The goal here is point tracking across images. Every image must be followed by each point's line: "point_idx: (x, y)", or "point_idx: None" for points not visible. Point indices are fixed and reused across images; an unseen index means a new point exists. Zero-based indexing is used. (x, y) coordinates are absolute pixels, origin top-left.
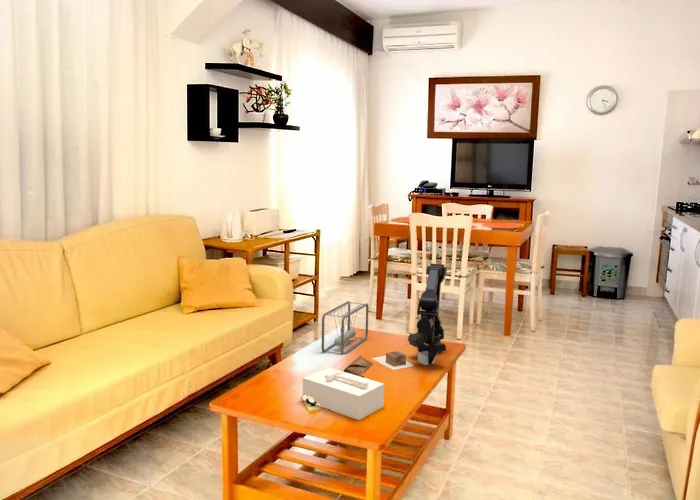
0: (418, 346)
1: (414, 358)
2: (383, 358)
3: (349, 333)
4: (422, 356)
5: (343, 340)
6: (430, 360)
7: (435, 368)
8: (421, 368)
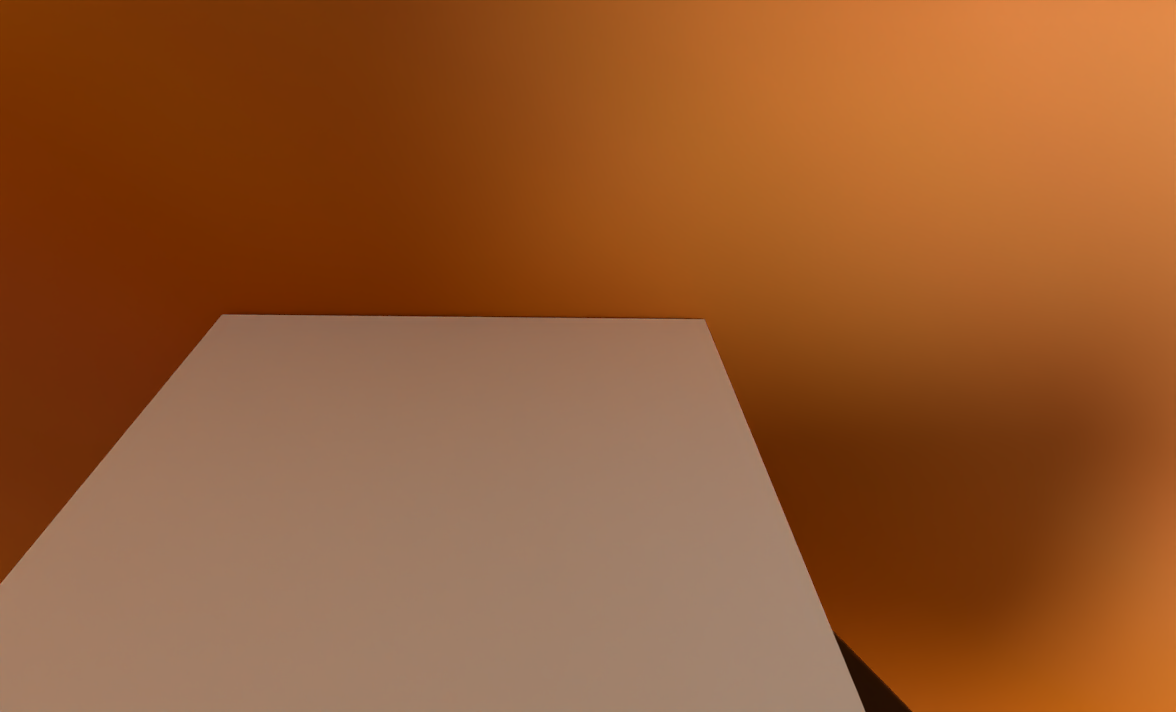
0: None
1: (1139, 532)
2: None
3: None
4: (294, 645)
5: None
6: None
7: (16, 547)
8: (147, 115)
